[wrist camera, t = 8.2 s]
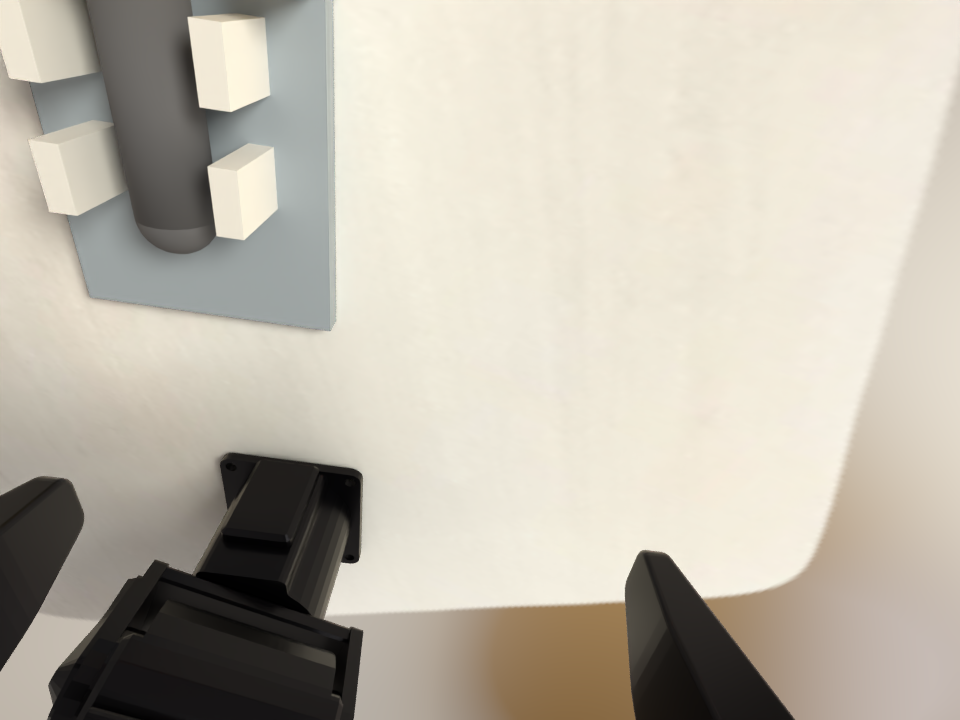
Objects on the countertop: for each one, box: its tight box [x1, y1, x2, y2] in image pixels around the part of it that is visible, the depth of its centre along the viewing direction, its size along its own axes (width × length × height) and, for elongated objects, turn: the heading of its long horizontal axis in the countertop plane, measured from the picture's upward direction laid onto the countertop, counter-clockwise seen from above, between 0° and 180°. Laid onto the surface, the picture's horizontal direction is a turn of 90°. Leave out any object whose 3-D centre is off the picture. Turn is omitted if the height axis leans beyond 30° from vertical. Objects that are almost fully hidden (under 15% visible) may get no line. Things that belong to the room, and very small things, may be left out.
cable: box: [86, 0, 216, 254], centre depth 14 cm, size 13×4×4 cm, turn 173°
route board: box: [0, 0, 336, 331], centre depth 15 cm, size 18×9×4 cm, turn 172°
